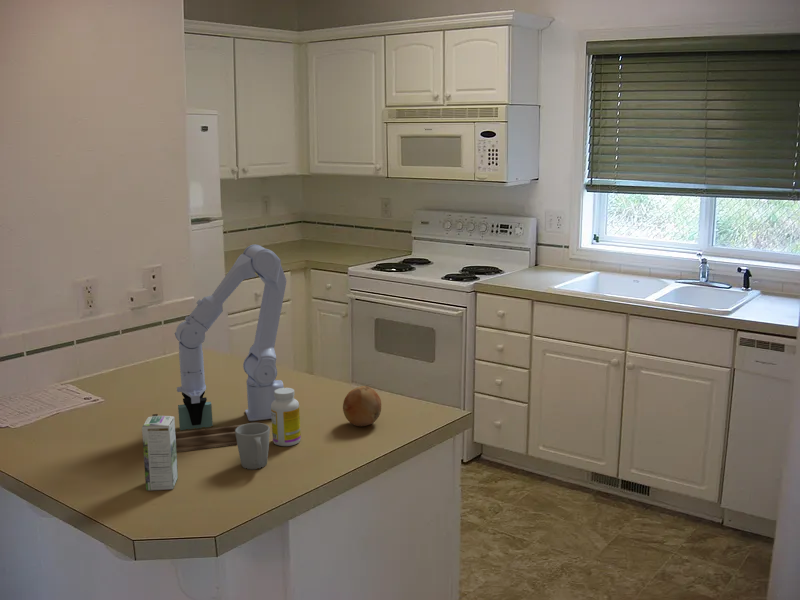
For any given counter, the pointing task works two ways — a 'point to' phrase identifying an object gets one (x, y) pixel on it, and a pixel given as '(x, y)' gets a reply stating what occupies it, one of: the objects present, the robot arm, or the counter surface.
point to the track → (205, 438)
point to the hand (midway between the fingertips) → (195, 421)
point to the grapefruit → (362, 406)
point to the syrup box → (160, 453)
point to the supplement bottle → (285, 418)
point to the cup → (253, 444)
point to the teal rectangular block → (186, 422)
